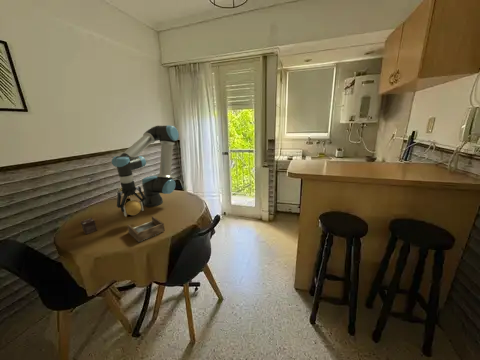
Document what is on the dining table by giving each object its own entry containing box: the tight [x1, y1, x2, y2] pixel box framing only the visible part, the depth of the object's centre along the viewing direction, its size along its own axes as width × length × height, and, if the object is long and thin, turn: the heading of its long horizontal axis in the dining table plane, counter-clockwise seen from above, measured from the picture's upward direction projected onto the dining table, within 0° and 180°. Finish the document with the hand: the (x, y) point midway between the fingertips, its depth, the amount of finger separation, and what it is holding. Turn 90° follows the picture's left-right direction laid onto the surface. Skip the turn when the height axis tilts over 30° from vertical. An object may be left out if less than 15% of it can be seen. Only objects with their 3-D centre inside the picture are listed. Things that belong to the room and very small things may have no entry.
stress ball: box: [124, 199, 142, 216], centre depth 134 cm, size 10×10×10 cm
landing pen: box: [127, 215, 166, 243], centre depth 126 cm, size 16×16×6 cm
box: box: [80, 217, 98, 235], centre depth 128 cm, size 6×6×7 cm
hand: (134, 212), depth 135 cm, fingers closed on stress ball, 10 cm apart
